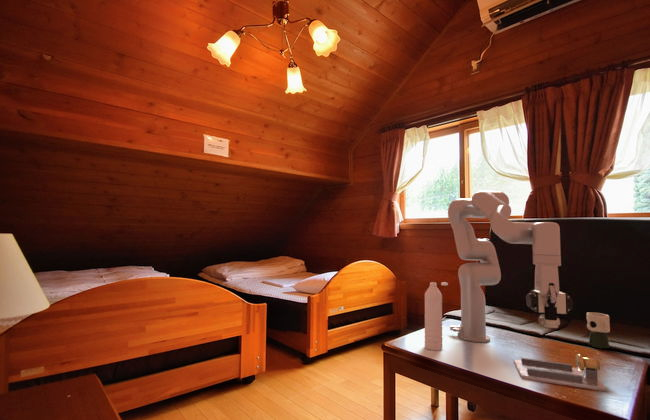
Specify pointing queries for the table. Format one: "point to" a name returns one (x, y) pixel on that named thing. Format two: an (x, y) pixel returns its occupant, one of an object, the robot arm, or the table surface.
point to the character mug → (598, 329)
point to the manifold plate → (562, 372)
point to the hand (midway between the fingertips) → (548, 317)
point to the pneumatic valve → (539, 305)
